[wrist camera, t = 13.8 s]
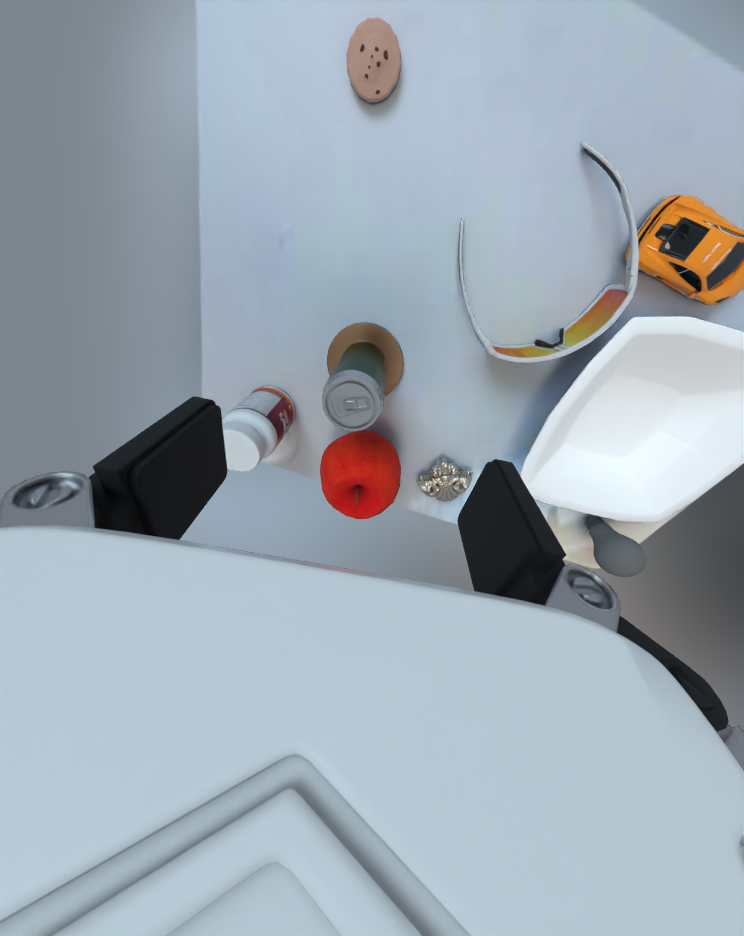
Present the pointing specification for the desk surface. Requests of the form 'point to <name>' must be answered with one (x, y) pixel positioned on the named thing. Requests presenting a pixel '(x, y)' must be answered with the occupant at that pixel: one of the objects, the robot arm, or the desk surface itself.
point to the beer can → (356, 388)
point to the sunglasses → (595, 315)
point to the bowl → (645, 422)
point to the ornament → (445, 481)
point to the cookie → (373, 60)
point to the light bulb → (615, 549)
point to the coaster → (373, 336)
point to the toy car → (692, 250)
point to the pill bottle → (256, 427)
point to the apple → (360, 474)
